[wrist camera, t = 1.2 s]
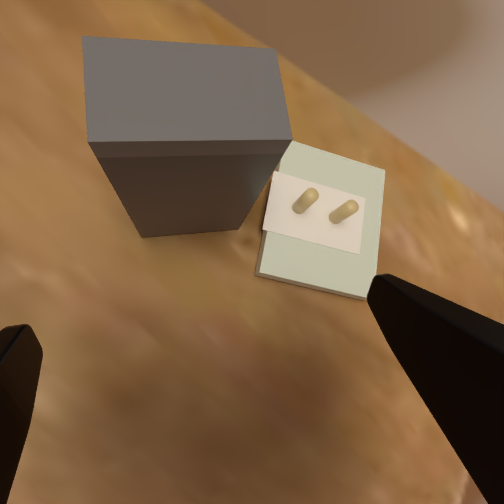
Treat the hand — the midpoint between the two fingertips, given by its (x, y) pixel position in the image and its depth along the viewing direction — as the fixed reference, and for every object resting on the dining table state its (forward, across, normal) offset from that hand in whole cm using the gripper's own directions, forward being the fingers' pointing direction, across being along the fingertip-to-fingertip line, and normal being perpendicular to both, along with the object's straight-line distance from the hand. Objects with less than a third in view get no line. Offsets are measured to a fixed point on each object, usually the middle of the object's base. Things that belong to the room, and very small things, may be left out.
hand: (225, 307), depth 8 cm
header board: (+14, -10, +5) cm, 18 cm away
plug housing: (+15, 0, +4) cm, 15 cm away
